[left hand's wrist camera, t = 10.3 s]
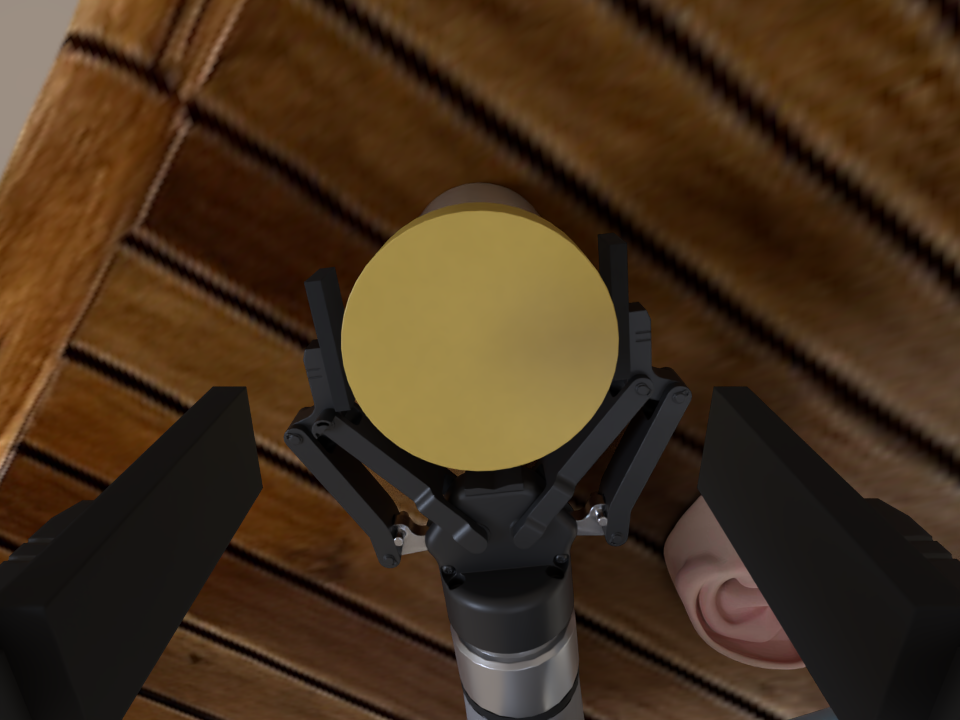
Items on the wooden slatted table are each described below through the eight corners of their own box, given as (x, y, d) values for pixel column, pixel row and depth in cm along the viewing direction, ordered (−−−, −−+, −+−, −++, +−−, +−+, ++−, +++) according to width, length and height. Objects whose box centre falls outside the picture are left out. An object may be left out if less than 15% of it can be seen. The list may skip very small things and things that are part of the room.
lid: (656, 289, 20) (676, 308, 18) (517, 477, 23) (521, 511, 21) (433, 147, 19) (427, 149, 17) (312, 368, 21) (294, 394, 19)
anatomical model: (703, 510, 35) (888, 524, 35) (681, 474, 39) (849, 486, 39) (658, 670, 40) (821, 681, 40) (643, 624, 43) (792, 634, 44)
